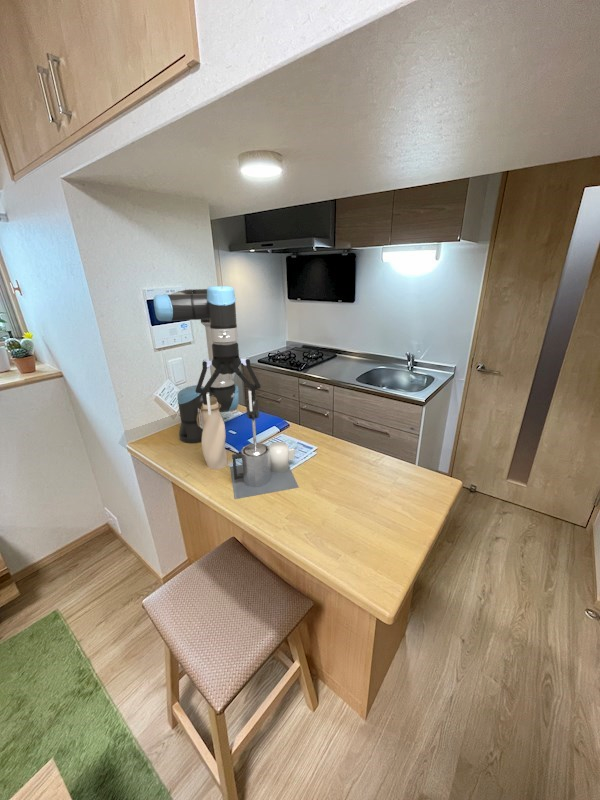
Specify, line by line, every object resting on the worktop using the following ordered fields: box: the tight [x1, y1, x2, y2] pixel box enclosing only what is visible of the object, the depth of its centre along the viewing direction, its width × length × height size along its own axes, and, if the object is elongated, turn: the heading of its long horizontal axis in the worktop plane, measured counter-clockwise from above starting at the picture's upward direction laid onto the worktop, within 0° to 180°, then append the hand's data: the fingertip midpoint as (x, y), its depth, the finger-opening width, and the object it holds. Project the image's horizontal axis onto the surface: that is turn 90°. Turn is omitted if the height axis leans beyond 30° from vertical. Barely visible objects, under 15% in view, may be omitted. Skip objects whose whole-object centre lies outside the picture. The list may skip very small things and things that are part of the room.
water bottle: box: [197, 397, 228, 471], centre depth 118 cm, size 10×9×28 cm
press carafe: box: [231, 442, 271, 487], centre depth 111 cm, size 10×13×12 cm
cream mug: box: [268, 441, 296, 473], centre depth 119 cm, size 8×10×9 cm
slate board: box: [229, 464, 300, 500], centre depth 116 cm, size 20×22×1 cm
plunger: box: [245, 397, 266, 456], centre depth 106 cm, size 7×7×19 cm
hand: (230, 411), depth 99 cm, fingers open, 12 cm apart
